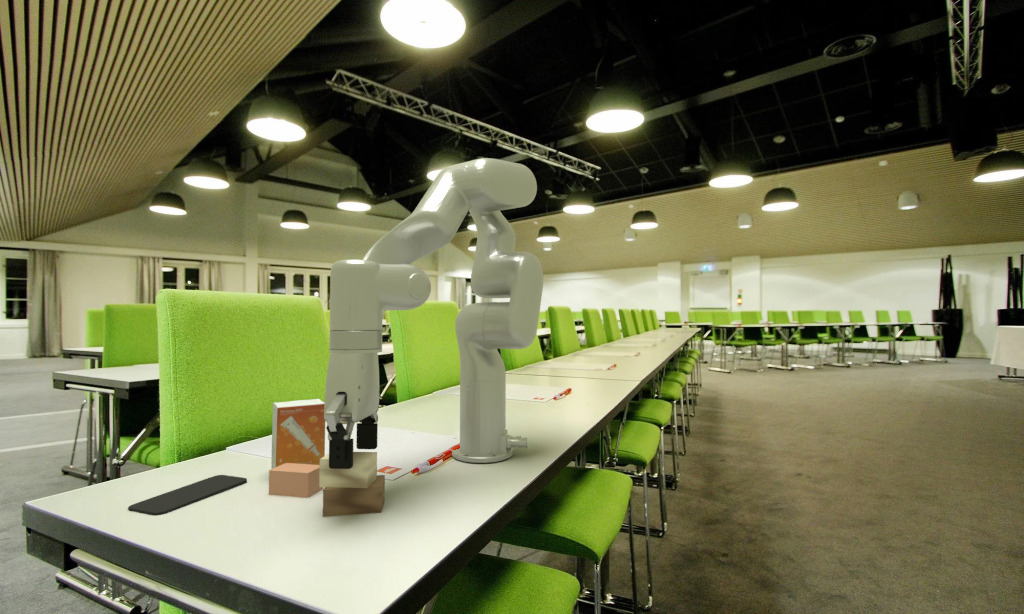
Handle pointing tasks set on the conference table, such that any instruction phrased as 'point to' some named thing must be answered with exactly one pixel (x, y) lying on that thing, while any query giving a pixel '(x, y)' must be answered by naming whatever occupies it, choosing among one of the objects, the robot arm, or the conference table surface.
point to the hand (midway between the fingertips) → (354, 457)
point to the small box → (298, 432)
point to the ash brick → (350, 472)
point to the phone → (187, 495)
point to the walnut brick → (354, 499)
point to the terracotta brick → (294, 480)
